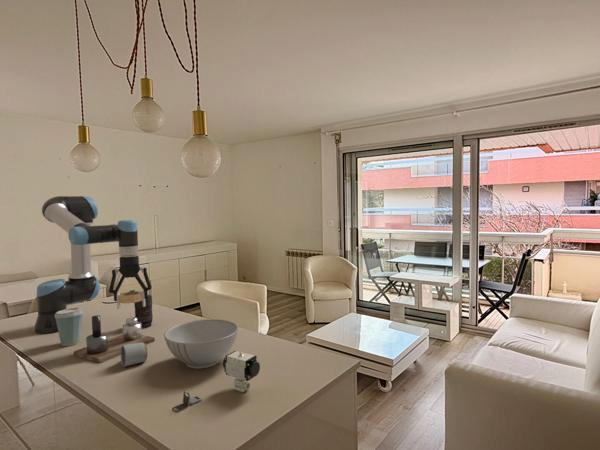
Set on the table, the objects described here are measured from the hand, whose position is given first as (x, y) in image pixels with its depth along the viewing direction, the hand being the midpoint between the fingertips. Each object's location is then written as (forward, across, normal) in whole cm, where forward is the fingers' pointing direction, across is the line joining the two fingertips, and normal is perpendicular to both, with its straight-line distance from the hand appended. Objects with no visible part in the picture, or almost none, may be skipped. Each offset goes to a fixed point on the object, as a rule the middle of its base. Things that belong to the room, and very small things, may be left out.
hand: (131, 307), depth 160 cm
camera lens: (+15, +2, +21) cm, 26 cm away
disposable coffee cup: (+15, -26, +7) cm, 31 cm away
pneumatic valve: (+16, +39, -58) cm, 72 cm away
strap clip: (+16, +23, -62) cm, 68 cm away
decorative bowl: (+16, +28, -32) cm, 46 cm away
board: (+15, -6, -5) cm, 17 cm away
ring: (-3, 0, 0) cm, 3 cm away
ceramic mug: (+16, +3, -24) cm, 28 cm away
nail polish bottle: (+14, -12, -11) cm, 21 cm away
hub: (+14, 0, 0) cm, 14 cm away
